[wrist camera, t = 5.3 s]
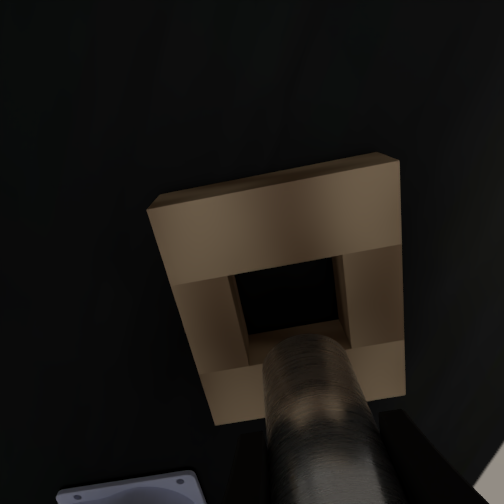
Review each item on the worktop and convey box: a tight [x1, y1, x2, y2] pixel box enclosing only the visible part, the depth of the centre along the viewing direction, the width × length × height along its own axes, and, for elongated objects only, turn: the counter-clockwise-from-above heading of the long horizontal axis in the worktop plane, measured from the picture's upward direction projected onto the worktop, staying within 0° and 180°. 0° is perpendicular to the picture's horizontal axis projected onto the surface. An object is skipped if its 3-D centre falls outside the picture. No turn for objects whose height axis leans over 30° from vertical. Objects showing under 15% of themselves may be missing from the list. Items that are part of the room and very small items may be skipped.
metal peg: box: [262, 333, 408, 504], centre depth 9 cm, size 3×3×8 cm
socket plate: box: [147, 152, 406, 425], centre depth 17 cm, size 10×12×2 cm
